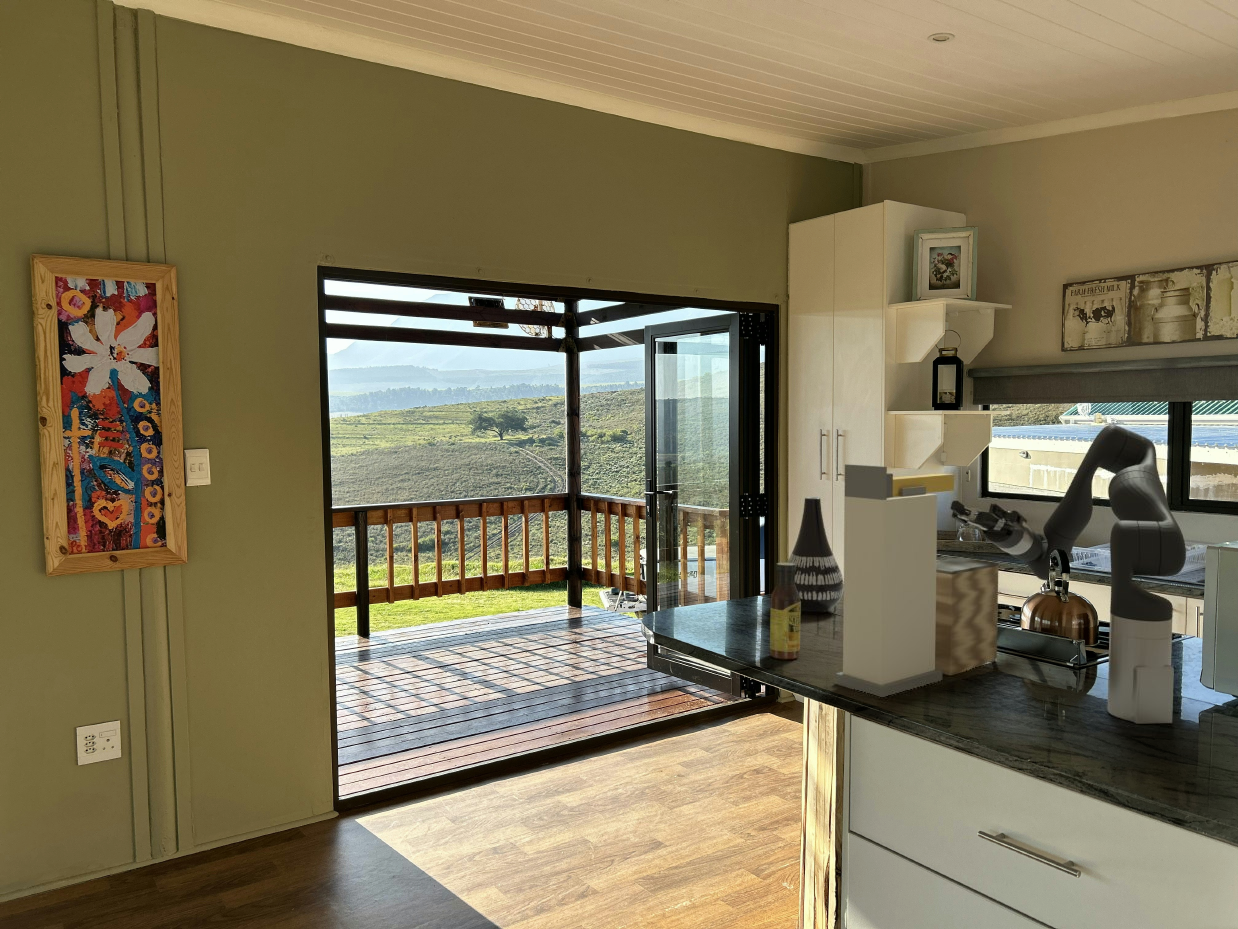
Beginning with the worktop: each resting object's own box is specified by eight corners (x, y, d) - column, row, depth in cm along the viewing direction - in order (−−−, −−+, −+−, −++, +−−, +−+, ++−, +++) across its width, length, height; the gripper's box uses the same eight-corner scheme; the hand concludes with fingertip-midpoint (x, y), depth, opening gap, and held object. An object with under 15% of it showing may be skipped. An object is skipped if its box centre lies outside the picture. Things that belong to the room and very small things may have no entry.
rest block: (950, 675, 181) (951, 571, 180) (911, 665, 188) (912, 565, 187) (996, 661, 191) (998, 562, 189) (958, 652, 198) (959, 557, 197)
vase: (779, 604, 247) (780, 494, 245) (840, 605, 245) (841, 494, 243) (781, 617, 231) (782, 500, 229) (846, 619, 229) (847, 501, 227)
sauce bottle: (793, 662, 191) (793, 567, 190) (765, 658, 195) (765, 564, 193) (804, 655, 197) (805, 562, 196) (777, 651, 200) (777, 560, 199)
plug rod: (878, 498, 169) (879, 474, 169) (859, 496, 173) (859, 473, 173) (956, 490, 183) (956, 468, 183) (937, 489, 187) (937, 467, 187)
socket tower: (882, 698, 168) (885, 467, 165) (835, 683, 176) (837, 464, 174) (942, 680, 178) (945, 463, 175) (895, 667, 187) (897, 460, 184)
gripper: (981, 513, 207) (945, 487, 197) (1044, 519, 196) (1009, 491, 186) (973, 545, 205) (936, 519, 196) (1036, 552, 194) (1000, 526, 185)
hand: (972, 506), depth 191 cm, fingers open, 8 cm apart
